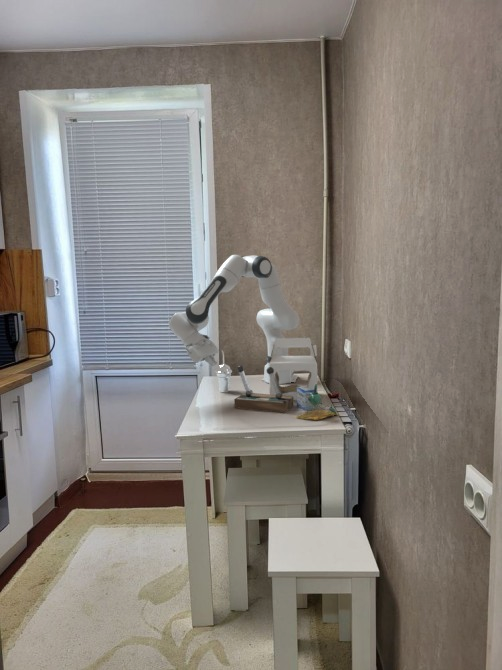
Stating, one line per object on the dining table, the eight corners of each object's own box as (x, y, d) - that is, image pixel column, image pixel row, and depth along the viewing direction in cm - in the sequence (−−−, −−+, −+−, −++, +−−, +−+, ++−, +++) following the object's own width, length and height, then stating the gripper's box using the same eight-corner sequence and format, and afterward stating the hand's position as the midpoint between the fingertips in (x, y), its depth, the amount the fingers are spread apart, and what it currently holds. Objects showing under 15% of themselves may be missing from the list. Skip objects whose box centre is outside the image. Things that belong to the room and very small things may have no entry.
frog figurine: (342, 421, 188) (338, 384, 186) (296, 426, 189) (292, 390, 187) (338, 413, 198) (334, 378, 196) (295, 418, 199) (290, 384, 197)
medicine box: (296, 406, 210) (296, 386, 209) (305, 404, 212) (305, 385, 211) (305, 410, 203) (305, 390, 202) (314, 409, 205) (314, 389, 204)
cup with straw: (213, 392, 237) (211, 352, 234) (219, 388, 245) (218, 349, 243) (229, 393, 234) (228, 353, 231) (235, 389, 243) (234, 350, 240)
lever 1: (248, 395, 215) (237, 365, 215) (254, 393, 213) (243, 363, 213) (245, 397, 212) (234, 367, 212) (251, 395, 210) (240, 365, 210)
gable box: (316, 393, 232) (316, 335, 228) (318, 400, 218) (317, 339, 215) (270, 393, 234) (269, 336, 230) (269, 400, 220) (268, 340, 217)
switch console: (245, 401, 220) (245, 391, 220) (294, 405, 212) (294, 395, 211) (234, 408, 209) (234, 397, 209) (286, 412, 201) (286, 402, 200)
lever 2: (277, 398, 209) (266, 367, 209) (284, 396, 208) (273, 365, 208) (275, 400, 206) (264, 368, 207) (282, 398, 205) (271, 366, 205)
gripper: (187, 341, 209) (208, 364, 206) (209, 335, 228) (228, 356, 225) (179, 350, 211) (200, 374, 209) (201, 344, 230) (220, 365, 227)
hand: (215, 364), depth 217 cm, fingers closed
